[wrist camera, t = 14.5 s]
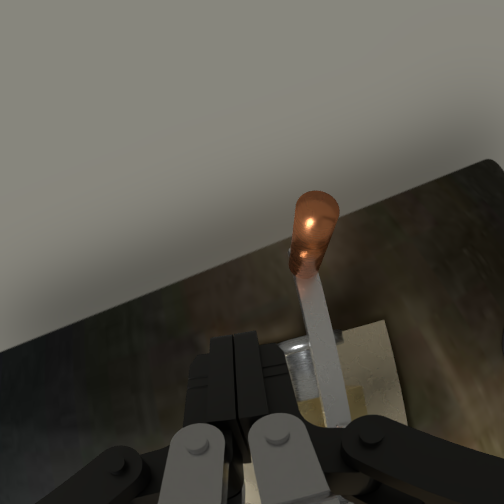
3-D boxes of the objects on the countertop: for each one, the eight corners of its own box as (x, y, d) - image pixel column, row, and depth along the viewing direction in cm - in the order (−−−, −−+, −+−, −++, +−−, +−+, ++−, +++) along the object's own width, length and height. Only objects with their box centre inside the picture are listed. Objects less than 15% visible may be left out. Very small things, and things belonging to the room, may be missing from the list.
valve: (379, 322, 34) (421, 295, 23) (410, 483, 25) (456, 510, 14) (214, 358, 33) (187, 348, 23) (248, 525, 24) (239, 574, 14)
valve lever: (359, 450, 18) (407, 483, 10) (323, 460, 18) (354, 503, 10) (314, 250, 25) (333, 183, 17) (282, 256, 25) (286, 190, 17)
